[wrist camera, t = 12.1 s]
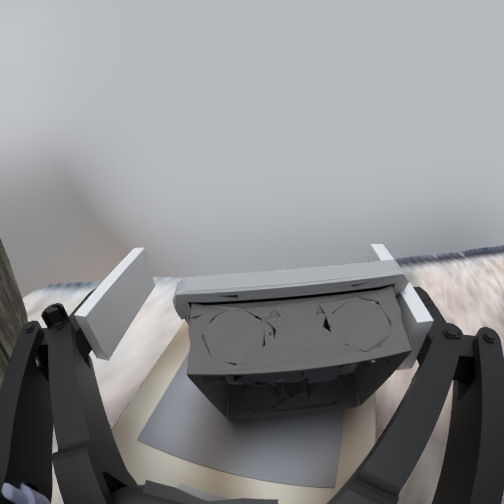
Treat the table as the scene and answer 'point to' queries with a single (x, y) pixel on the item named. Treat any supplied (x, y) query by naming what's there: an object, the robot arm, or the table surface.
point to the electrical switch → (293, 336)
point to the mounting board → (236, 441)
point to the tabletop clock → (9, 312)
